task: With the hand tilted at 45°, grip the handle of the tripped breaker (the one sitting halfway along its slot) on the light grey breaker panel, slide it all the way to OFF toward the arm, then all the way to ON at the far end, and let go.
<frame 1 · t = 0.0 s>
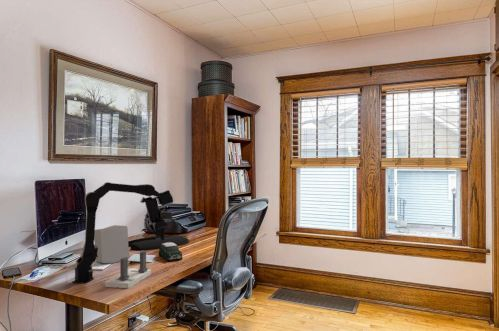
hand: (160, 238, 165), 15 cm above the table, tool pointing down, fingers open, 9 cm apart
electrical switch box: (110, 260, 183), on the table
miniature car: (170, 258, 187), on the table
on breaker: (143, 261, 155), point 7 cm above the table, slide at 2.5 cm
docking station: (159, 245, 222), on the table
breaker panel: (129, 279, 149), on the table
tripped breaker: (124, 268, 143), point 7 cm above the table, slide at 0.0 cm
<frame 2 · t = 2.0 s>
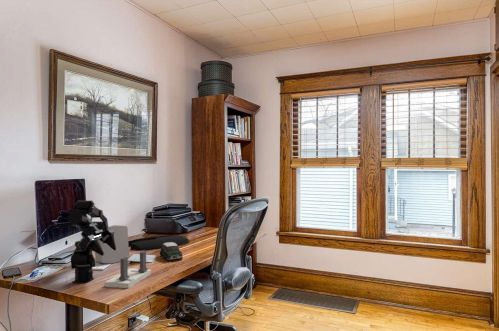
hand: (109, 252, 145), 14 cm above the table, tool tilted 45°, fingers open, 9 cm apart
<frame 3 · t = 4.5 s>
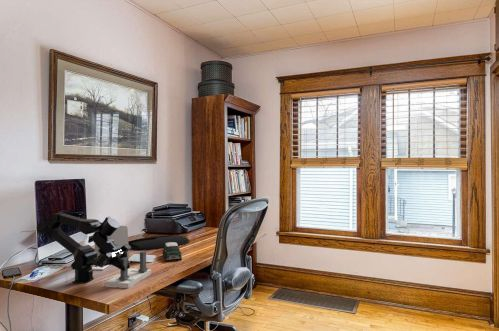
hand: (127, 269, 143), 7 cm above the table, tool tilted 45°, fingers closed on tripped breaker, 3 cm apart
tripped breaker: (124, 268, 143), point 7 cm above the table, slide at 0.0 cm, touching gripper
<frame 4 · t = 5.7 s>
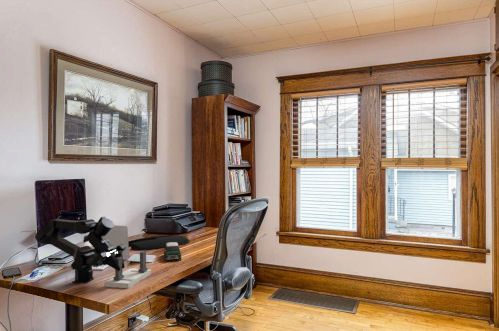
hand: (121, 269, 144), 7 cm above the table, tool tilted 45°, fingers closed on tripped breaker, 3 cm apart
tripped breaker: (118, 268, 144), point 7 cm above the table, slide at -2.5 cm, touching gripper
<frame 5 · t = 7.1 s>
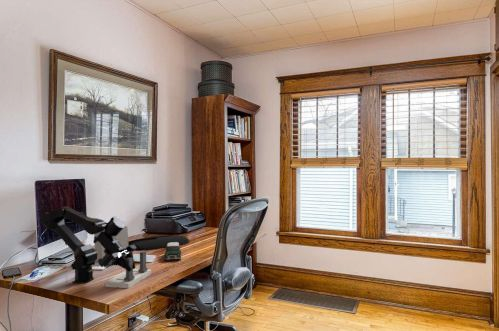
hand: (132, 269, 143), 7 cm above the table, tool tilted 45°, fingers closed on tripped breaker, 3 cm apart
tripped breaker: (129, 268, 143), point 7 cm above the table, slide at 2.6 cm, touching gripper
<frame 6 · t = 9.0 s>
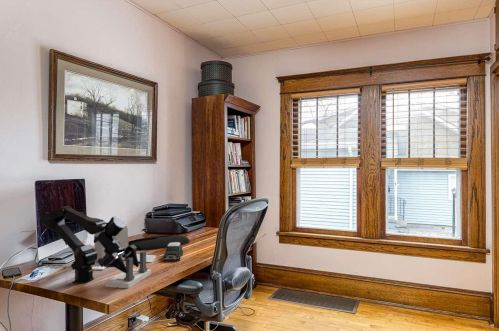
hand: (132, 269, 143), 7 cm above the table, tool tilted 45°, fingers open, 9 cm apart
tripped breaker: (129, 268, 143), point 7 cm above the table, slide at 2.6 cm
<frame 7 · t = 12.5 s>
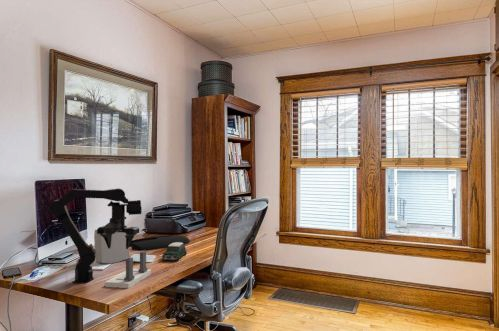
hand: (118, 248, 154), 13 cm above the table, tool pointing down, fingers open, 9 cm apart
at the end: tripped breaker slide at 2.6 cm; on breaker slide at 2.5 cm; the gripper is holding nothing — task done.
